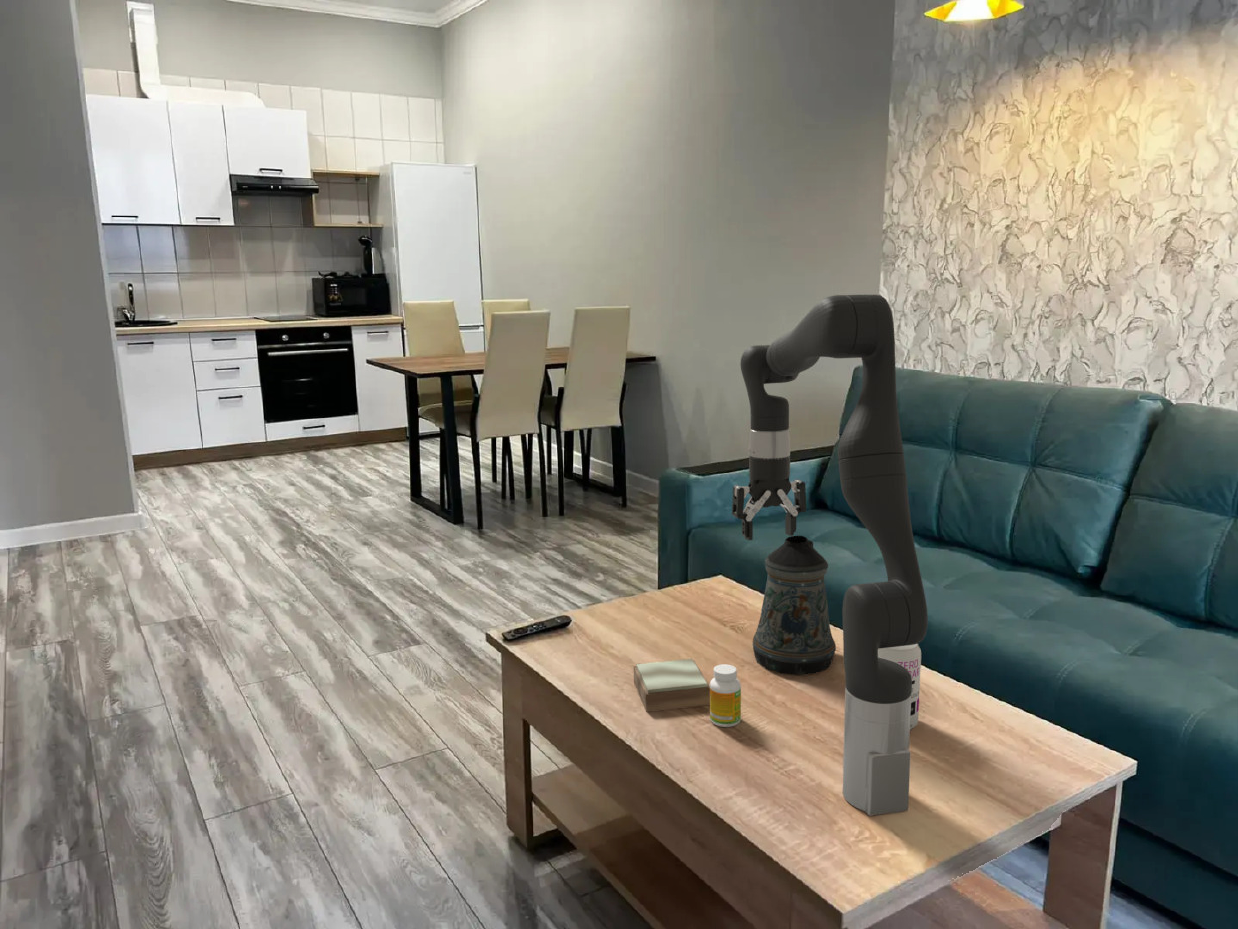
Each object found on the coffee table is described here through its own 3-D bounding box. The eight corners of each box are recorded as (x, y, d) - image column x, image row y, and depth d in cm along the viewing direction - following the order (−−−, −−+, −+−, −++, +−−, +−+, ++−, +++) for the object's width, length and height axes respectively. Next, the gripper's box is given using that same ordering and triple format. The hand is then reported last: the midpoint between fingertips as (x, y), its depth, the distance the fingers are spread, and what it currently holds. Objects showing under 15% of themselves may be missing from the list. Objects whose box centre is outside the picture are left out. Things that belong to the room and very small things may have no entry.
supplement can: (883, 706, 158) (886, 627, 155) (926, 721, 152) (930, 640, 149) (859, 722, 152) (861, 641, 149) (903, 739, 146) (907, 655, 143)
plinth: (710, 705, 160) (710, 684, 159) (646, 712, 158) (645, 691, 157) (694, 676, 172) (694, 657, 171) (633, 682, 170) (633, 663, 169)
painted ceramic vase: (759, 677, 171) (759, 554, 165) (745, 637, 190) (745, 525, 184) (844, 675, 170) (847, 552, 165) (822, 635, 189) (824, 523, 184)
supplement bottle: (739, 729, 151) (739, 676, 149) (708, 726, 152) (708, 674, 150) (741, 714, 156) (741, 663, 154) (711, 712, 158) (711, 661, 156)
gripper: (742, 459, 158) (742, 546, 161) (813, 453, 162) (812, 538, 165) (726, 452, 165) (726, 535, 168) (794, 446, 169) (793, 528, 172)
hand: (769, 536), depth 166 cm, fingers open, 8 cm apart
